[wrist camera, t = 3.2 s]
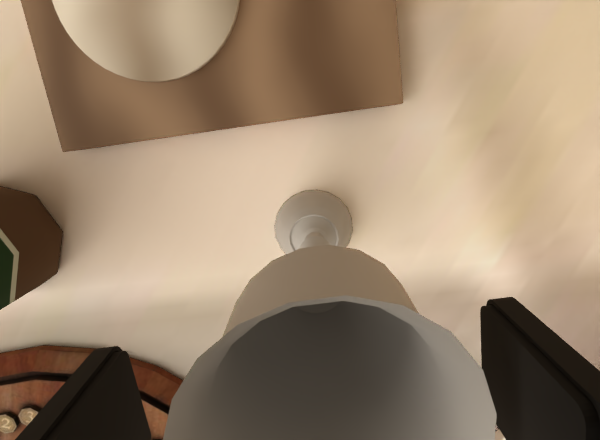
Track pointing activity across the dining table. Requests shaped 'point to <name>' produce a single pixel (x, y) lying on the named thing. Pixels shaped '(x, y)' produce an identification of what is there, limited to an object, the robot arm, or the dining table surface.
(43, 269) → the beer bottle
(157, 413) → the wooden control board
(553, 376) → the robot arm
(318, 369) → the chalice
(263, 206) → the dining table surface
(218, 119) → the walnut board
